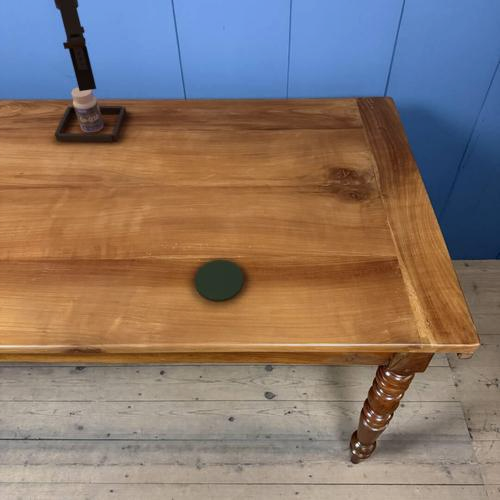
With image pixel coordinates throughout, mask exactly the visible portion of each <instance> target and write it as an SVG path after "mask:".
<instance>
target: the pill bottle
mask: <svg viewBox="0 0 500 500" xmlns="http://www.w3.org/2000/svg"><path fill="white" fill-rule="evenodd" d="M71 97H72V100H73V101H72V105H73V106H74V108H75V111H76V114H75V115H76V118H77V120H78V122H79V126H80V129H81V130H82V131H83V132H85V133H87V134H93V133H97V132H99V131H101V130H102V129H103V127H104V125H105V124H104V120H103V116H102V114H101V112H100V109H99V106H100V105H99V103H98V99H97V98H96V96H95V95H94V91H93V89H92V90H85V91H79V87H78V86H77V87H75V88H73V89H72V90H71Z"/></svg>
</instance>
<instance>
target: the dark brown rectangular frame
mask: <svg viewBox="0 0 500 500" xmlns="http://www.w3.org/2000/svg"><path fill="white" fill-rule="evenodd" d="M98 106H99V109H100V112H101V115H118V117H117V120H116V122H115V125H114V127H113V130H112V133H72V132H71V133H68V132H67V133H66V130H67V127H68V126H69V123H70V121H71V119H72V118H73V115H77V114H76V111H75V108H74V106H73V104H72V105H71V106H67V107H66V109H65V111H64V113H63V116H62V118H61V120H60V122H59V123H58V126H57V128H56V130H55V132H54V137H55V139H56V141H58V142H60V143H114V142H118V140H119V137H120V134H121V132H122V129H123V127H124V123H125V120H126V117H127V114H128V113H127V109H126V106H122V105H98Z"/></svg>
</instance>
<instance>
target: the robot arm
mask: <svg viewBox="0 0 500 500" xmlns="http://www.w3.org/2000/svg"><path fill="white" fill-rule="evenodd" d="M53 1H54V6H55V9H57V10H58V11H59V12H60V15H61V20H62V24H63V28H64V32H65V37H66V40H65V42H62V45H63V49H64V50H68V52H69V56H70V59H71V63H72V68H73V71H74V75H75V79H76V82H77V87H79V91H85V90H92V91H93V90H97V86H96V81H95V77H94V73H93V69H92V64H91V60H90V56H89V51H88V47H87V43H86V42H87V41H86V37H84V34H85V27H84V26H82V25H81V20H80V16H79V11H78V8H79V0H53Z"/></svg>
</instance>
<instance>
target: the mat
mask: <svg viewBox="0 0 500 500" xmlns="http://www.w3.org/2000/svg"><path fill="white" fill-rule="evenodd" d="M194 285H195V286H194V287H195V289H196V291H197V293H199V295H200V296H201V297H202V298H204V299H206V300H208V301H211V302H219V303H220V302H225V301H226V302H227V301H229V300H231V299H233V298H235V297H236V296H237V295H239V293H240V292H241V290H242V289H243V286H244V274H243V271H242V270H241V268H240V267H239V266H238V265H237V264H235V263H234V262H232V261H229V260H224V259H215V260H211V261H208V262H207V263H204V264H203V265H202V266H201V267H200V268H198V270H197V272H196V274H195V276H194Z"/></svg>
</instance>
